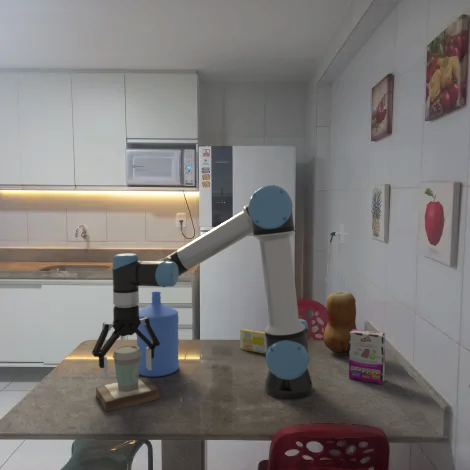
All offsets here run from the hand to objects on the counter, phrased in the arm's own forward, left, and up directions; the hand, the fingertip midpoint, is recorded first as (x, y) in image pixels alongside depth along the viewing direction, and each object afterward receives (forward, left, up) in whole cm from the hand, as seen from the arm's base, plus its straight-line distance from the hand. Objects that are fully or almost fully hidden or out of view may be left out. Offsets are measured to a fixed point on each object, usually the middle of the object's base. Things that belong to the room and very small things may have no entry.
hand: (127, 373), depth 132 cm
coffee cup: (0, 0, -5) cm, 5 cm away
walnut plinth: (0, 0, -8) cm, 8 cm away
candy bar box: (-28, -74, -8) cm, 79 cm away
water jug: (+17, -16, -8) cm, 25 cm away
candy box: (+14, -58, -8) cm, 60 cm away
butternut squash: (-5, -85, -8) cm, 85 cm away
